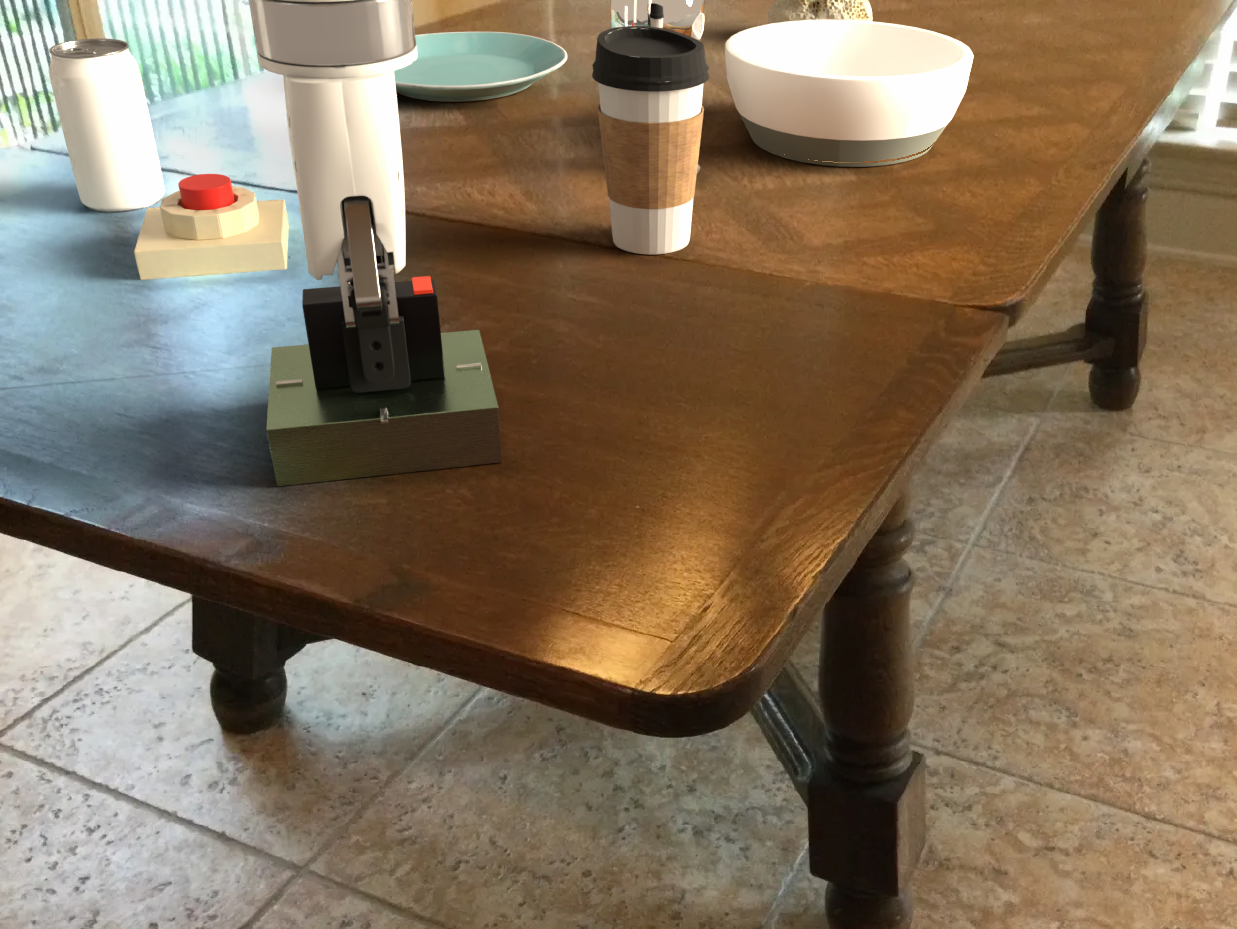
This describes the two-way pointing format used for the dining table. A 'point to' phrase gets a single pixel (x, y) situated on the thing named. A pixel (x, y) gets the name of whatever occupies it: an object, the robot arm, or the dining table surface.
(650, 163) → the coffee cup
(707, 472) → the dining table surface
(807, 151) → the bowl
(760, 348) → the dining table surface
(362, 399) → the green lever base box
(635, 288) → the dining table surface
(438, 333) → the black rectangular case
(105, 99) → the can
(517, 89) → the plate
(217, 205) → the release button
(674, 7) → the wineglass
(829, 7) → the decorative item
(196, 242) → the box
